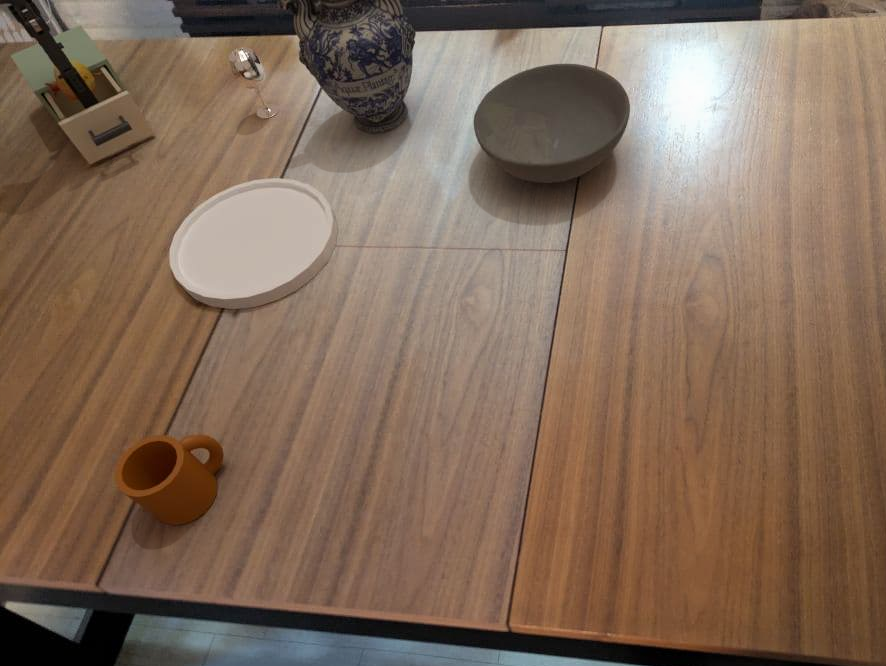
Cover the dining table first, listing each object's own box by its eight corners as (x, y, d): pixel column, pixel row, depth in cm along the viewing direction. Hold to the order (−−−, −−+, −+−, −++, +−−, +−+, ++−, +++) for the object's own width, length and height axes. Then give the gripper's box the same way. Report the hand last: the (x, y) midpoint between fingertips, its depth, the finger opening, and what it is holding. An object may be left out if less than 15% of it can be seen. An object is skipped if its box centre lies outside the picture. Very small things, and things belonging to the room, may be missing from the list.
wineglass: (286, 112, 140) (260, 55, 130) (259, 124, 139) (232, 68, 129) (275, 98, 143) (249, 41, 133) (249, 110, 142) (221, 54, 132)
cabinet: (137, 106, 146) (106, 58, 137) (70, 139, 142) (33, 91, 133) (111, 72, 154) (80, 24, 145) (46, 102, 150) (10, 55, 141)
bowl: (605, 221, 117) (605, 172, 108) (459, 195, 123) (448, 148, 115) (645, 121, 129) (647, 70, 121) (510, 102, 136) (504, 53, 127)
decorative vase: (330, 159, 132) (268, 9, 108) (323, 100, 141) (264, -49, 118) (442, 133, 133) (404, -21, 109) (427, 76, 142) (390, -76, 119)
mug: (249, 487, 96) (217, 457, 89) (166, 538, 93) (126, 511, 86) (225, 442, 101) (193, 409, 93) (145, 488, 98) (105, 459, 90)
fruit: (90, 47, 132) (35, 65, 130) (89, 56, 127) (32, 74, 125) (112, 85, 137) (60, 102, 135) (112, 94, 132) (58, 113, 130)
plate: (262, 169, 132) (256, 159, 129) (371, 224, 121) (366, 213, 119) (143, 266, 121) (135, 256, 119) (251, 335, 111) (244, 325, 109)
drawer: (162, 143, 137) (136, 103, 130) (97, 176, 134) (66, 136, 126) (128, 98, 146) (101, 58, 139) (65, 127, 143) (35, 88, 135)
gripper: (35, -18, 111) (121, 110, 130) (1, -62, 120) (87, 64, 139) (-13, 1, 109) (82, 129, 128) (-43, -44, 118) (50, 81, 137)
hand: (84, 95), depth 134 cm, fingers closed on fruit, 7 cm apart
